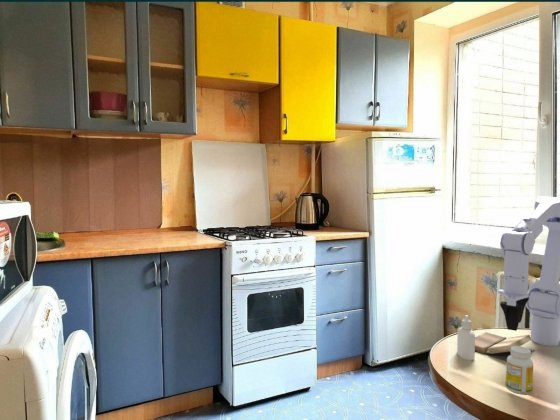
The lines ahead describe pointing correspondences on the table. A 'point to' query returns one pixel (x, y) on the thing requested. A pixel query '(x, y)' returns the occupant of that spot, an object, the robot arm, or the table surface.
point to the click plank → (509, 344)
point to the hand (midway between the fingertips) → (514, 325)
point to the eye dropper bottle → (466, 340)
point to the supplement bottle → (519, 370)
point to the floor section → (490, 344)
